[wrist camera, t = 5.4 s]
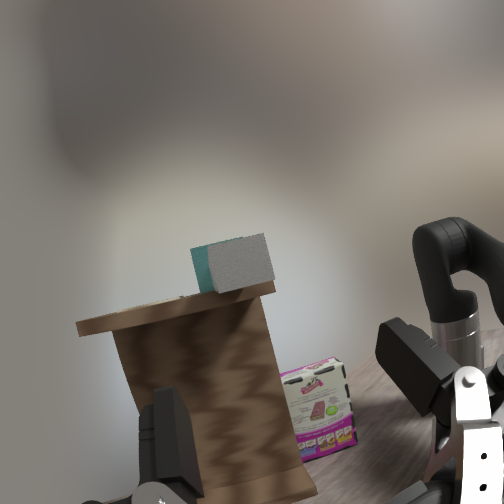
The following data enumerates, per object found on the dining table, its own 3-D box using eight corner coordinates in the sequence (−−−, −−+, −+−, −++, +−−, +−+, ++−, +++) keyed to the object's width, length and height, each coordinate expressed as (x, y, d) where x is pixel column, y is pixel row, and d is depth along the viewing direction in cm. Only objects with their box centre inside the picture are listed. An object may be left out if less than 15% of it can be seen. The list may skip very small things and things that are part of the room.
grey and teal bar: (247, 281, 38) (237, 244, 38) (301, 272, 15) (277, 184, 16) (202, 292, 37) (193, 255, 37) (190, 300, 14) (169, 206, 15)
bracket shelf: (301, 467, 37) (252, 278, 39) (327, 509, 25) (271, 274, 27) (182, 494, 33) (111, 311, 36) (179, 542, 21) (74, 320, 24)
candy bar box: (348, 432, 43) (334, 355, 45) (358, 444, 38) (345, 362, 40) (290, 451, 42) (269, 374, 44) (295, 466, 37) (273, 385, 39)
